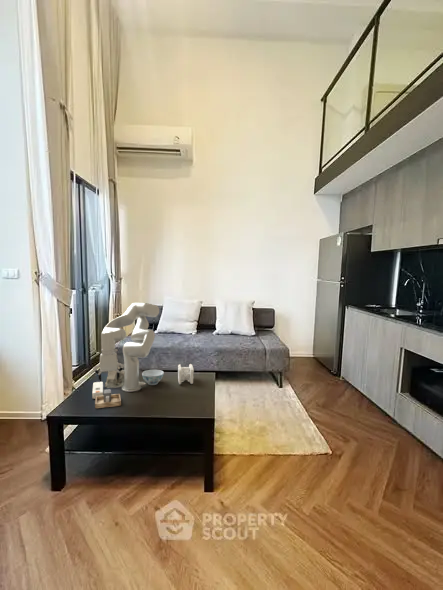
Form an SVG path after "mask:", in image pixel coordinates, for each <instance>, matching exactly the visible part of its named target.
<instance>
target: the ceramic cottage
mask: <svg viewBox="0 0 443 590" xmlns="http://www.w3.org/2000/svg"><path fill="white" fill-rule="evenodd" d="M120 368H121V366H120V365H118V369H120ZM119 376H120V377H119V378H118V380H117V371H116V370H114V371H107V377H106V382H104V383H105V384H104V387H105V388H107V389H115V388H122V386H124V369H122V370H121V371H120V373H119Z"/></svg>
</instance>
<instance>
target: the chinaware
mask: <svg viewBox="0 0 443 590" xmlns="http://www.w3.org/2000/svg"><path fill="white" fill-rule="evenodd" d="M164 374H165V372H164V371H163V370H160V369H149V370H144V371H143V372H141V375H142V378H143V381H144V382H146V384H147V385H150V386H155V385H158V383H159V382H160V381H161V380H162V379H163V377H164Z"/></svg>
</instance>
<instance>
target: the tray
mask: <svg viewBox="0 0 443 590" xmlns="http://www.w3.org/2000/svg"><path fill="white" fill-rule="evenodd" d="M120 406H122V399H121V393H114V394H111V402H105V403H104V394H103V396H96V399H95V400H94V408H95V409H101V408H102V409H103V408H109V407H110V408H111V407H120Z"/></svg>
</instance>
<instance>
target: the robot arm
mask: <svg viewBox="0 0 443 590" xmlns="http://www.w3.org/2000/svg"><path fill="white" fill-rule="evenodd" d="M159 313H160V308H159V306H158V305H157V304H152V303H148V302H132V303H131V304H130V305H129V306H128V307H127V309H126V310H125V311H124V312H123V314H122V315H120V316H118V317H116V318H113V319H112V320H110V321H109V322H108V323H107V324H106V325H105V326H104V328H103V330H102V332H101V334H100V340H101V341H100V344H101V353H100V355H99V363H98V364H96V365H95V366H93V367H92V369H93V371H94V372H95V373H96V374H97V376H98V381H99V382H102V373H103V372H108V371H114V370H116V371H117V380H118V378H119V377H120V376H119V373H120V371H121V370H124V386H122V387H121V391H123V392H132V393H133V392H138V391H140V390H141V389H142V386H146V385H147V382H146V381H140V361H139V358H144V359H145V358H146V357H148V356H149V354H150V352H151V349H152V346H153V345H154V342H155V336H156V335H155V332H154V330H153V329H148V328H149V326H150V324H149V321H148V319H147V317H149V318H156V317H157V316H159ZM134 323H135V326H134V328H133V330H132V332H131V335H130V339H131V341H127V342H125V343H123V346H122V354H123V360H124V361H123V363H121V362H118V361H119V359H118V354H117V352H118V351H119V349H117V348H116V342H121V341H123V340H125V338H126V336H127V331H126V330H125V329H124V328H125V327H127V326H131V325H133V324H134ZM118 365H119V367H120V369H118ZM98 368H99V370H98Z"/></svg>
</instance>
